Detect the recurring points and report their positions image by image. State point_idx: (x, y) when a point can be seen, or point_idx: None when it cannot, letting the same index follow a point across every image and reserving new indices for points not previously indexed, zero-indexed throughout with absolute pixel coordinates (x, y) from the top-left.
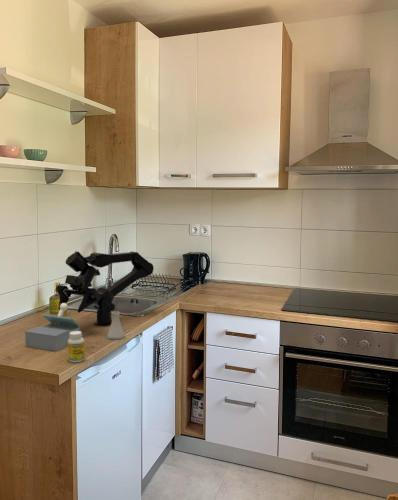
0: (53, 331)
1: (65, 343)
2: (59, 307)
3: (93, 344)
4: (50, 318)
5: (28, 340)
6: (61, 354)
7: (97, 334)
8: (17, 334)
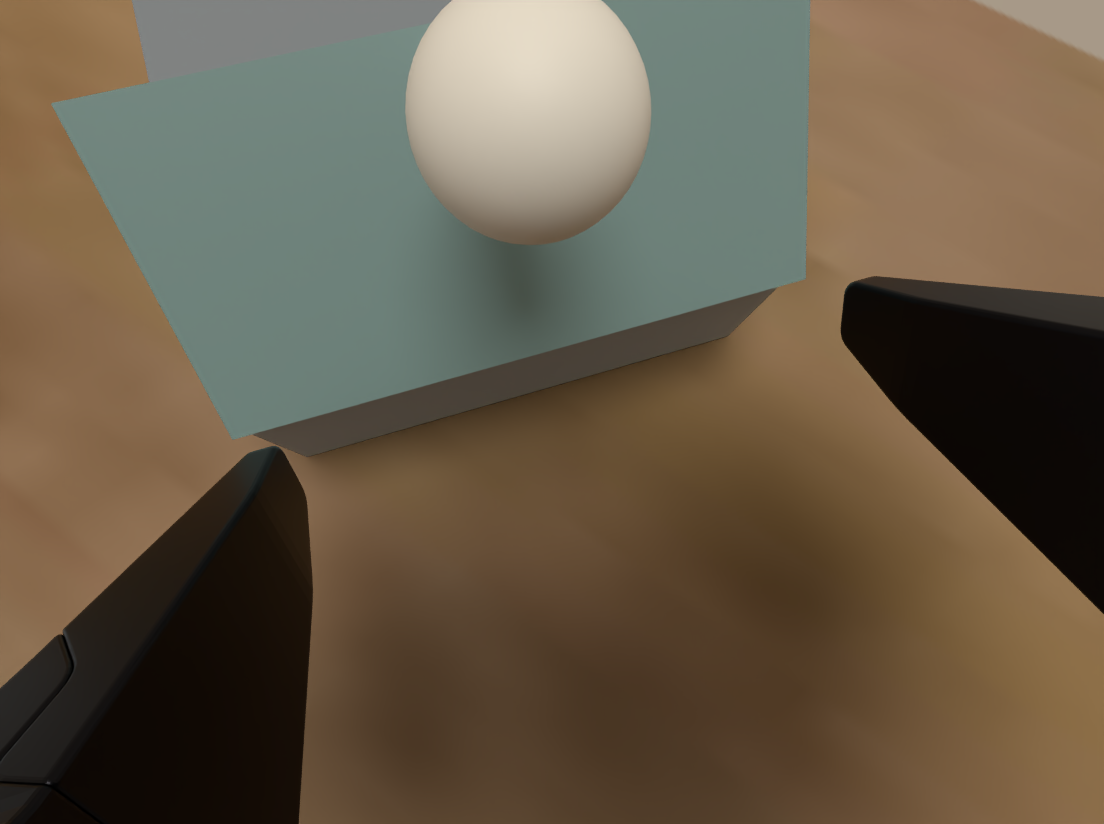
0: (313, 2)
1: None
2: (884, 284)
3: (27, 450)
4: (669, 88)
5: None
6: (97, 56)
7: None
8: (1017, 133)
